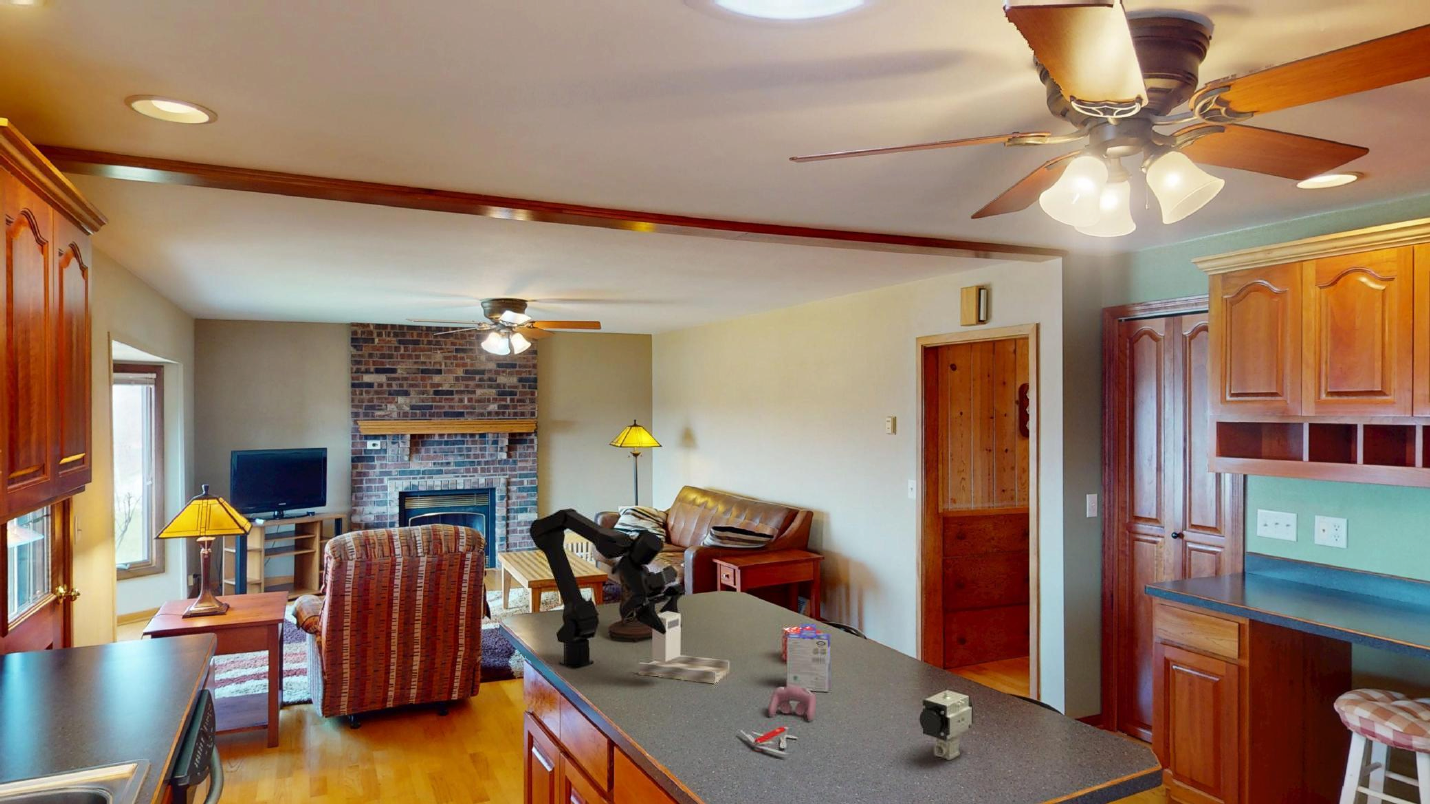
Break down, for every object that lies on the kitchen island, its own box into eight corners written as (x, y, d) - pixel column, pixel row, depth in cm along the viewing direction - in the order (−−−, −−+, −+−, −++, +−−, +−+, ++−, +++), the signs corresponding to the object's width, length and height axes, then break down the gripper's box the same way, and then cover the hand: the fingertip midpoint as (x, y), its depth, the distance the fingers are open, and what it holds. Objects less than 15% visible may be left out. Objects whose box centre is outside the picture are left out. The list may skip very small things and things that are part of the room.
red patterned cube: (810, 655, 221) (810, 625, 221) (823, 664, 214) (823, 633, 214) (782, 658, 218) (782, 628, 219) (794, 667, 211) (794, 636, 211)
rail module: (652, 658, 195) (652, 615, 195) (666, 653, 199) (667, 611, 199) (665, 661, 193) (666, 618, 193) (680, 656, 197) (680, 613, 197)
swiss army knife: (762, 726, 172) (762, 716, 172) (818, 742, 164) (818, 732, 164) (727, 743, 163) (727, 733, 163) (785, 761, 155) (785, 750, 155)
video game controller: (816, 724, 177) (819, 690, 180) (812, 721, 173) (815, 686, 176) (770, 719, 180) (774, 685, 183) (766, 716, 176) (769, 681, 179)
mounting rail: (638, 674, 205) (638, 663, 205) (655, 663, 214) (655, 652, 214) (714, 684, 197) (714, 672, 198) (729, 672, 207) (729, 660, 207)
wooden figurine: (632, 626, 250) (632, 559, 250) (670, 634, 241) (670, 565, 242) (597, 637, 238) (597, 567, 238) (637, 646, 229) (637, 573, 230)
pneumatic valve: (918, 761, 155) (918, 695, 155) (952, 743, 163) (952, 681, 163) (944, 770, 150) (944, 703, 151) (978, 752, 159) (978, 688, 159)
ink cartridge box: (830, 685, 197) (830, 623, 197) (829, 693, 192) (829, 629, 192) (788, 682, 199) (788, 621, 199) (786, 690, 194) (786, 627, 194)
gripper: (629, 561, 191) (667, 617, 184) (679, 550, 206) (716, 602, 199) (603, 591, 195) (639, 647, 189) (654, 578, 210) (689, 629, 204)
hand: (672, 630), depth 195 cm, fingers closed on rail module, 5 cm apart
